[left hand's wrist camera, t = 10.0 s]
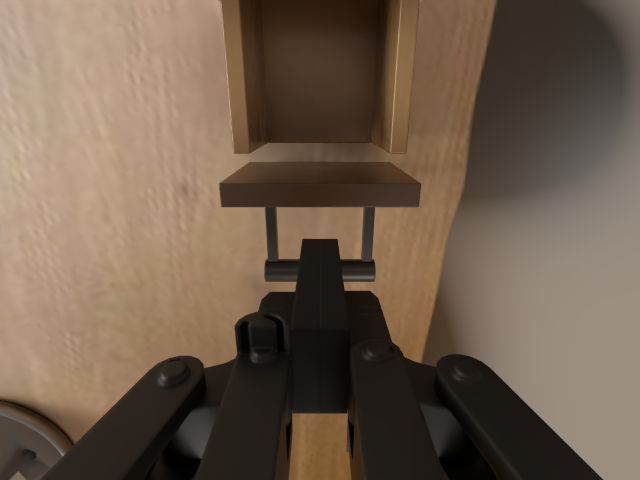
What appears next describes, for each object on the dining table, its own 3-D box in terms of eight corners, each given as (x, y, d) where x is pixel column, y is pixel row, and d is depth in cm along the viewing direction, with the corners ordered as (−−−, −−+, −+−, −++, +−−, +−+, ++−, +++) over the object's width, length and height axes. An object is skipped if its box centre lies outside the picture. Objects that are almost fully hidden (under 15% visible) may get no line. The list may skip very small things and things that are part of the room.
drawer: (384, 252, 26) (408, 305, 19) (255, 252, 26) (231, 305, 19) (412, -138, 18) (472, -302, 11) (227, -138, 18) (167, -302, 11)
